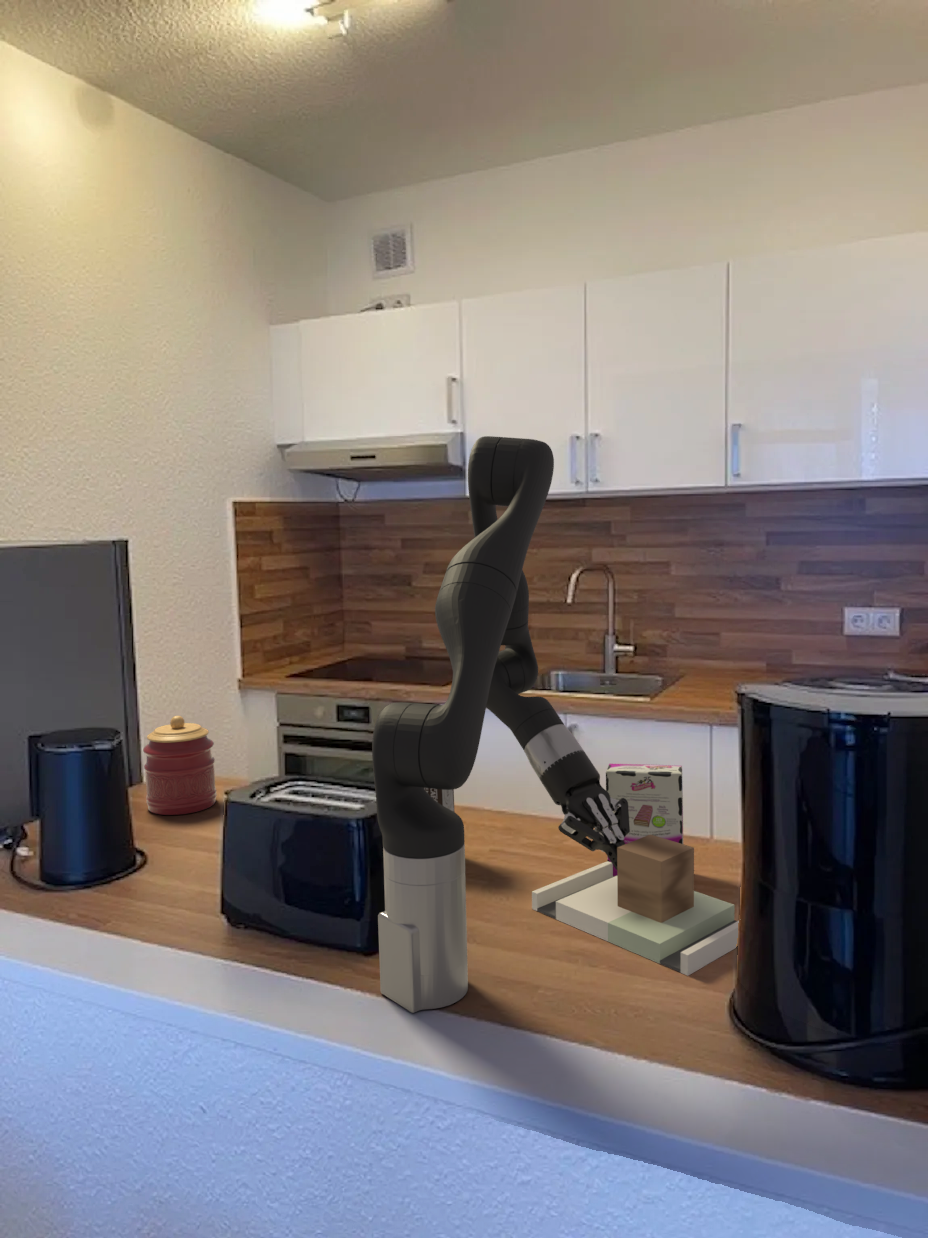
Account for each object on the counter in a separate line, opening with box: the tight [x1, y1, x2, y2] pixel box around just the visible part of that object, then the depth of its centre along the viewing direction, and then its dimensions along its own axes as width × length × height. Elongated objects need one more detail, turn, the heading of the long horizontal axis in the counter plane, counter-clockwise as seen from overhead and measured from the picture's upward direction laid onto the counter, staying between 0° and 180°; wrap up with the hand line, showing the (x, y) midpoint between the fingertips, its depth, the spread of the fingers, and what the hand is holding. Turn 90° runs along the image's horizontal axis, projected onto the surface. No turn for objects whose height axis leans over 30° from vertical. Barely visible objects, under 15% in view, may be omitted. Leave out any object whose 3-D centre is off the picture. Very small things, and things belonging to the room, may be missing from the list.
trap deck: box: [531, 861, 739, 976], centre depth 121 cm, size 16×26×2 cm, turn 41°
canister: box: [142, 715, 217, 816], centre depth 175 cm, size 13×13×18 cm
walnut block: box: [617, 834, 695, 923], centre depth 119 cm, size 7×7×8 cm
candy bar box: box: [605, 763, 684, 877], centre depth 136 cm, size 11×5×16 cm, turn 76°
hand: (629, 870), depth 122 cm, fingers closed
